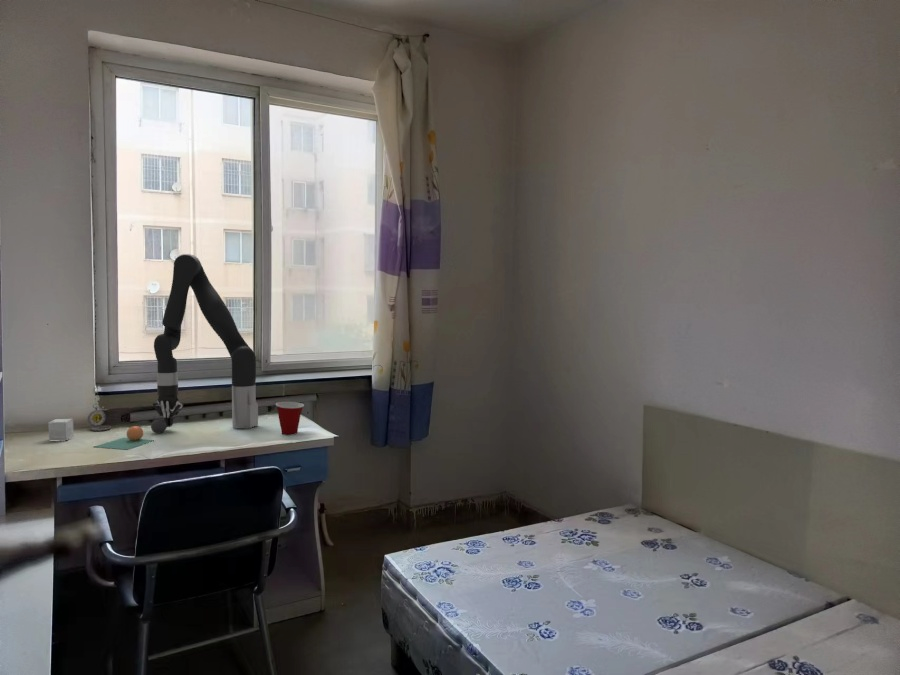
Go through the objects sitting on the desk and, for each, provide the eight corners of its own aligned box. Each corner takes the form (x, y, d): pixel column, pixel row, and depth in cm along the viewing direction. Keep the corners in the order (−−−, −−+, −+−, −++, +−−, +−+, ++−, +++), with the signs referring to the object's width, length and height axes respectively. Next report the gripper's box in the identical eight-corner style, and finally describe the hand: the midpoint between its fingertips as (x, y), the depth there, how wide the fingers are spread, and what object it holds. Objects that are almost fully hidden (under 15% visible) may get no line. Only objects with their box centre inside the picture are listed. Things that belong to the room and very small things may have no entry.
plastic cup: (299, 437, 231) (299, 406, 230) (271, 436, 231) (271, 405, 231) (307, 430, 242) (307, 401, 241) (281, 430, 242) (281, 400, 241)
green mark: (155, 440, 223) (155, 440, 223) (127, 449, 209) (127, 449, 209) (123, 438, 226) (123, 437, 226) (93, 447, 213) (93, 446, 213)
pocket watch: (104, 431, 236) (103, 406, 236) (83, 431, 236) (82, 406, 236) (116, 427, 244) (115, 403, 244) (96, 427, 245) (95, 402, 244)
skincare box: (74, 437, 226) (73, 418, 226) (66, 441, 220) (65, 421, 220) (56, 438, 225) (55, 418, 225) (48, 442, 219) (47, 422, 219)
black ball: (163, 418, 233) (158, 431, 230) (171, 422, 237) (166, 435, 235) (150, 416, 234) (145, 430, 232) (159, 421, 239) (154, 434, 236)
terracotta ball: (139, 424, 220) (134, 438, 218) (148, 429, 225) (143, 443, 223) (126, 423, 222) (121, 437, 219) (135, 428, 226) (130, 442, 224)
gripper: (188, 382, 241) (189, 425, 242) (160, 381, 244) (160, 423, 245) (175, 385, 234) (176, 429, 235) (146, 384, 237) (147, 427, 238)
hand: (168, 426), depth 240 cm, fingers closed
